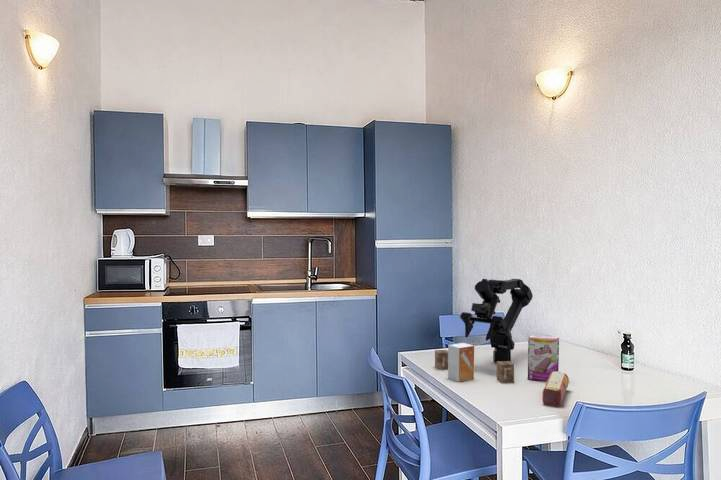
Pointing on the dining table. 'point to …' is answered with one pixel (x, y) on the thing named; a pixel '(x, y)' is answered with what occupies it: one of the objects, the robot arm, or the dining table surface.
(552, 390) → the snack package
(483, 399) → the dining table surface
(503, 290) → the robot arm
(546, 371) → the candy bar box
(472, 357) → the small box
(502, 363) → the walnut block seven
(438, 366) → the walnut block one
